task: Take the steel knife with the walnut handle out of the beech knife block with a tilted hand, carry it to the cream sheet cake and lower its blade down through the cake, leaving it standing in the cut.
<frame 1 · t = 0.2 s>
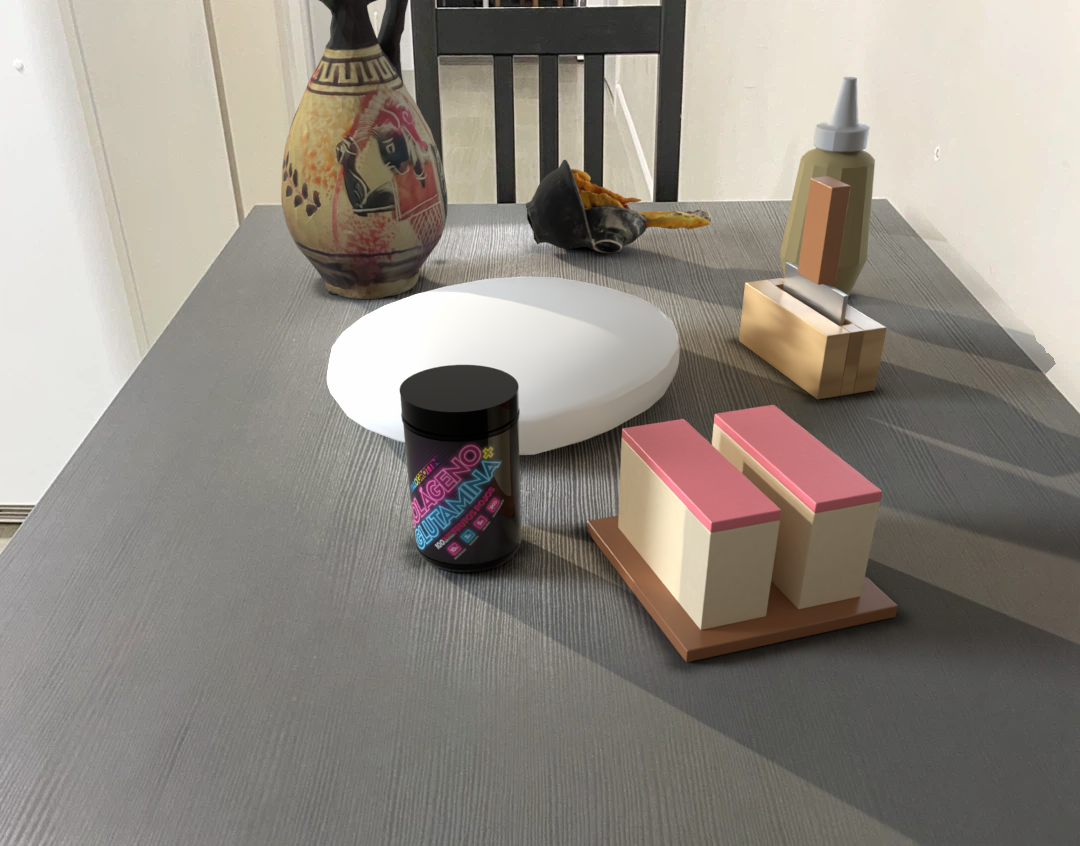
ceramic jug: (381, 285, 108), on the table
cake: (732, 571, 65), on the table
supplement container: (468, 551, 68), on the table
white round flat disc: (505, 396, 86), on the table
knife: (816, 278, 86), in the knife block
fried shrimp in bowl: (611, 251, 116), on the table
squeeze bottle: (817, 296, 104), on the table
knife block: (803, 364, 90), on the table
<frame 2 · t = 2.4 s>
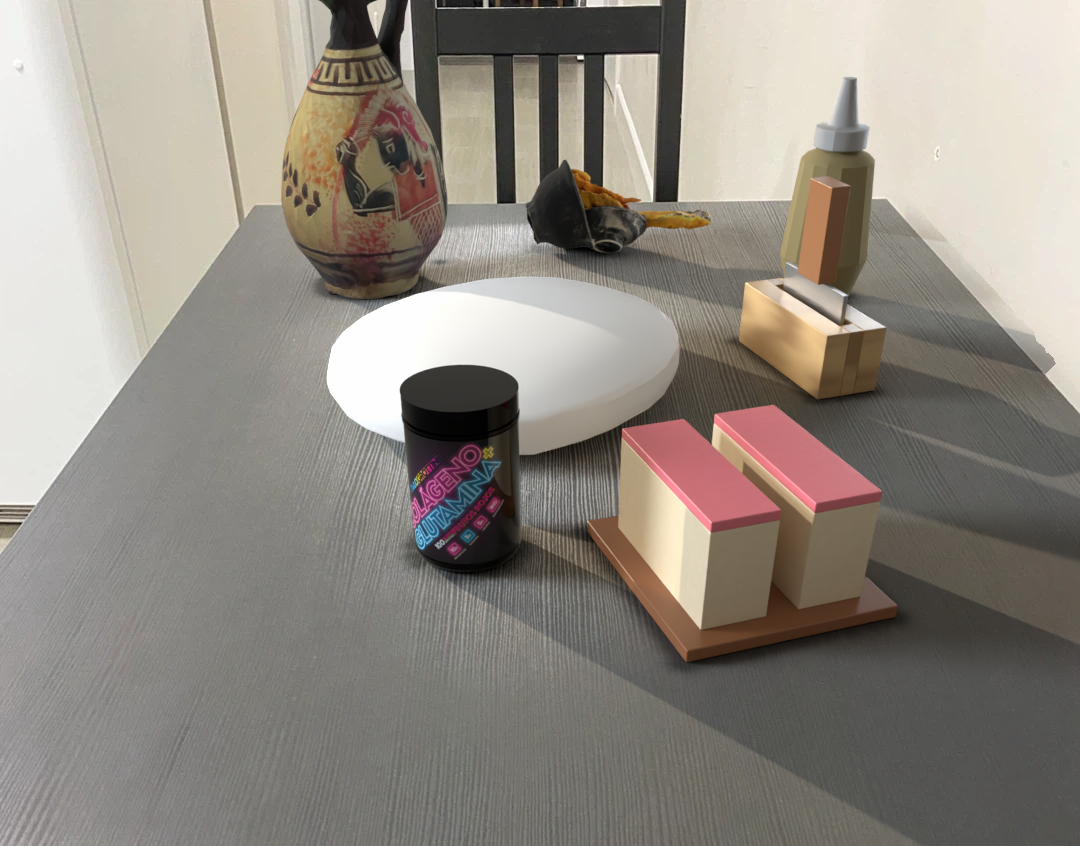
nothing on the table moved.
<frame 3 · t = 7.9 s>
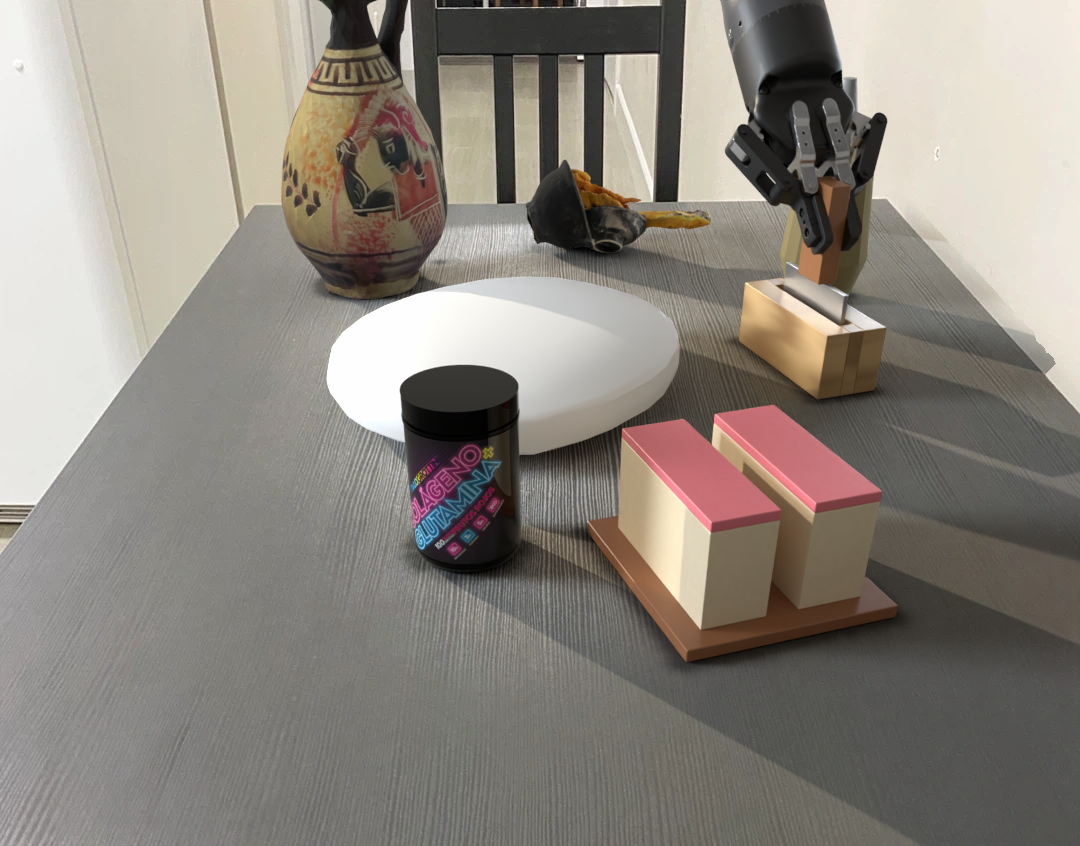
hand: (836, 246, 83), 10 cm above the table, tool tilted 45°, fingers closed on knife, 1 cm apart
knife: (816, 277, 86), in the knife block, touching gripper
everything else where it was.
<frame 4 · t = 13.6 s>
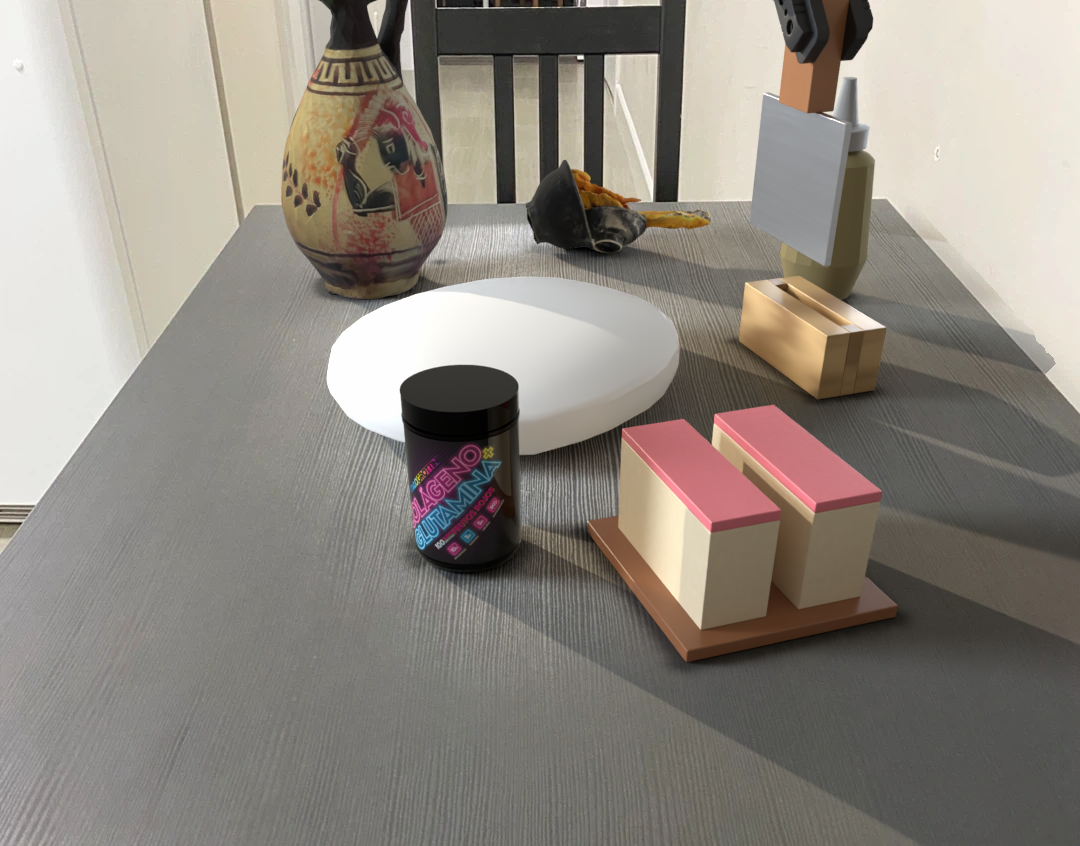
hand: (834, 49, 55), 26 cm above the table, tool tilted 45°, fingers closed on knife
knife: (805, 107, 59), point 23 cm above the table, touching gripper
everything else where it was.
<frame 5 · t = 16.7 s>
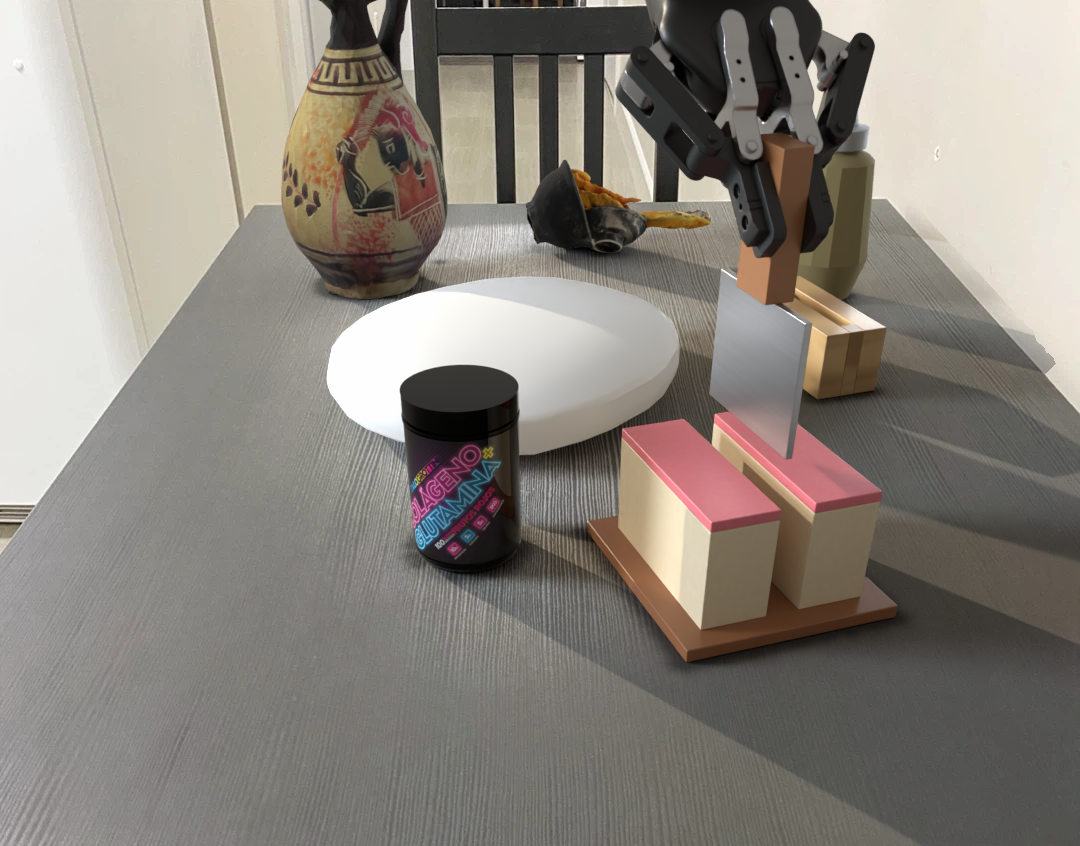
hand: (793, 245, 52), 19 cm above the table, tool tilted 45°, fingers closed on knife
knife: (764, 294, 55), point 16 cm above the table, touching gripper
everything else where it was.
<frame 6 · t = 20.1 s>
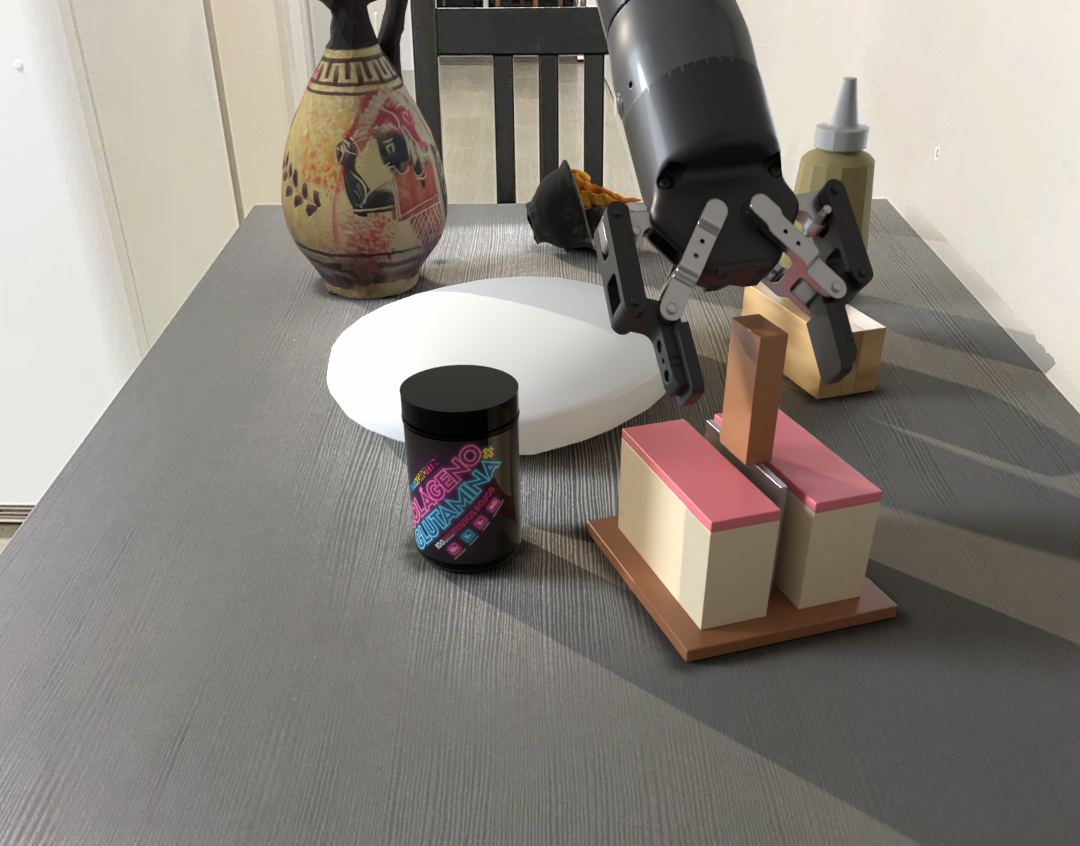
hand: (767, 389, 57), 12 cm above the table, tool tilted 45°, fingers open, 8 cm apart
knife: (744, 451, 60), point 8 cm above the table, touching cake
everything else where it was.
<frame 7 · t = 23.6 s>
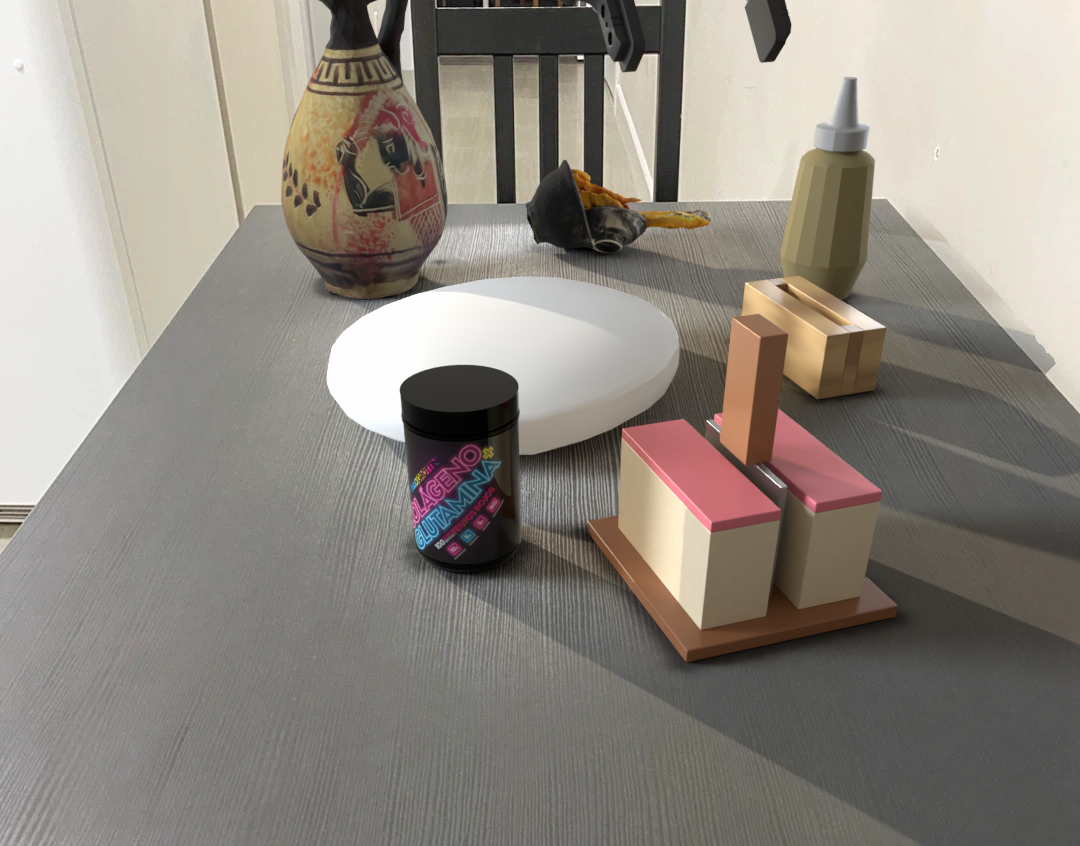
hand: (706, 57, 60), 25 cm above the table, tool tilted 45°, fingers open, 8 cm apart
nothing on the table moved.
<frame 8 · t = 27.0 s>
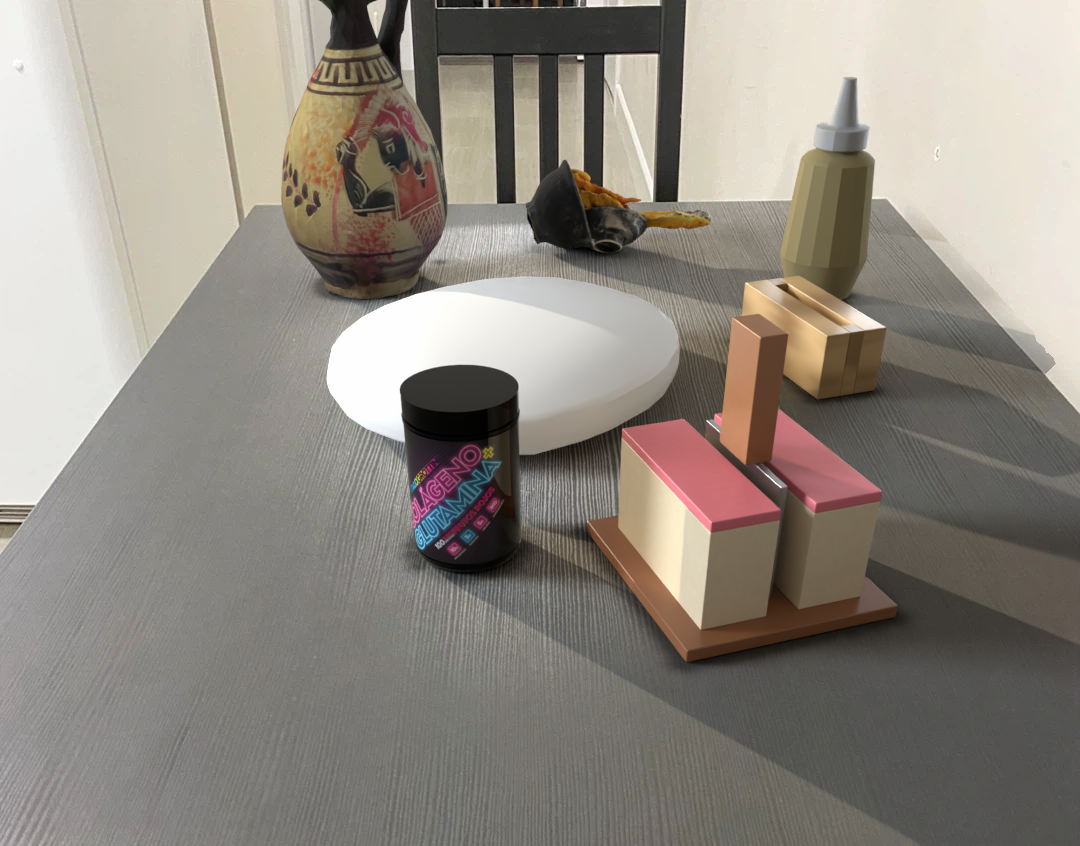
nothing on the table moved.
at the end: knife inside the target area on the cake (0.1 cm from its centre), point 7.8 cm above the cake's base; the gripper is holding nothing; knife tilted 0° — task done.
